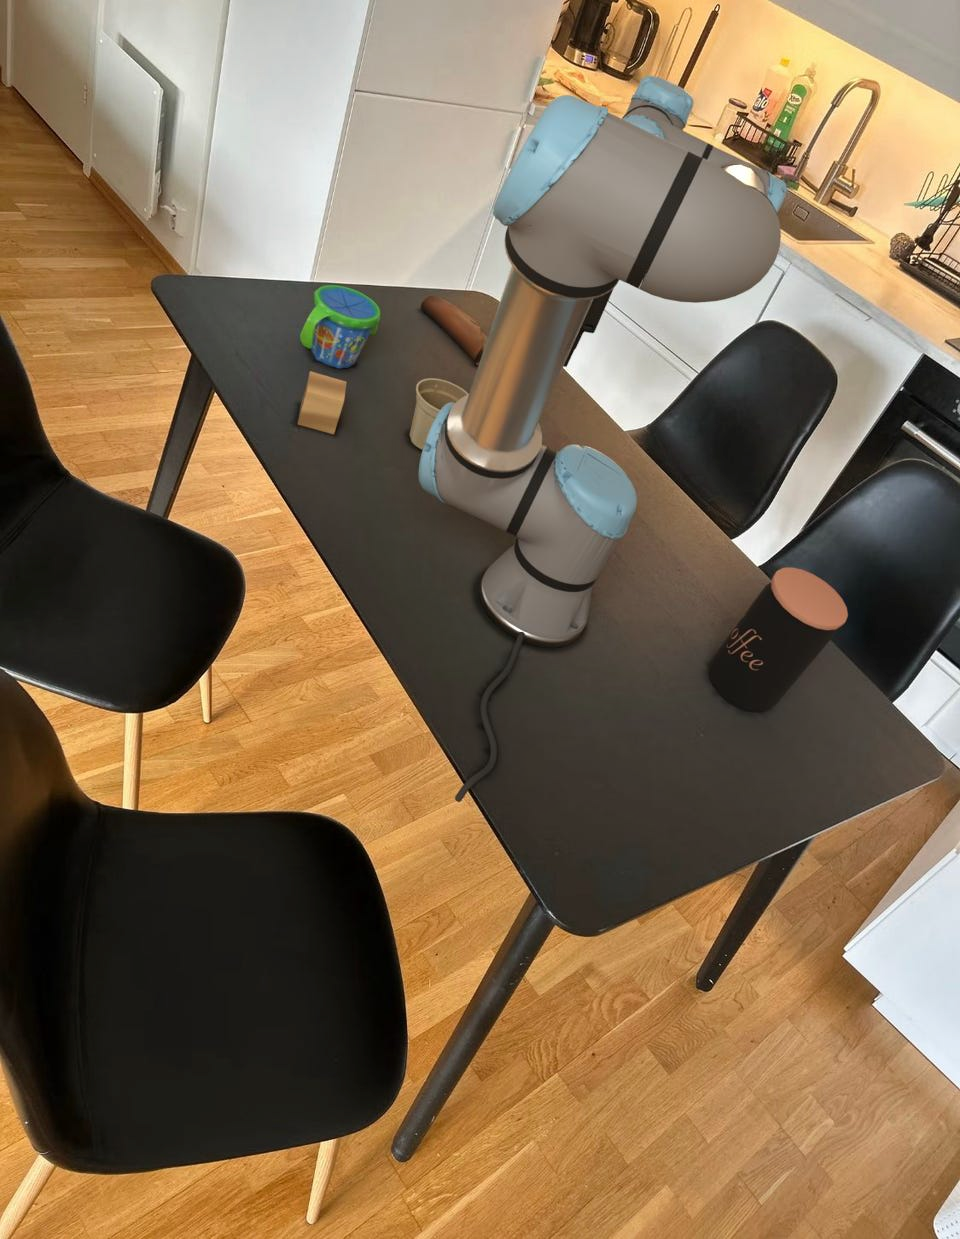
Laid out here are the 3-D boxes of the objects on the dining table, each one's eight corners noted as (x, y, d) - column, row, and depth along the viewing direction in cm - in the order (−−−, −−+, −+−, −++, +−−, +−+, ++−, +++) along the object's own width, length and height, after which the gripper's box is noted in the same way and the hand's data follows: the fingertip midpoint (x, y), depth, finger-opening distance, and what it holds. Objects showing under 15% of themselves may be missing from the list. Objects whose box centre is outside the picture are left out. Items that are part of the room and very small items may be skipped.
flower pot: (460, 437, 157) (478, 392, 152) (453, 468, 150) (472, 422, 145) (404, 416, 156) (421, 370, 150) (395, 447, 149) (411, 400, 143)
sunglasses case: (508, 361, 181) (506, 334, 175) (477, 380, 179) (474, 354, 173) (452, 307, 188) (448, 280, 183) (422, 325, 187) (417, 298, 181)
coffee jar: (700, 649, 140) (767, 557, 128) (766, 669, 142) (837, 580, 130) (710, 704, 132) (782, 611, 120) (780, 724, 134) (857, 635, 122)
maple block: (334, 434, 145) (344, 401, 142) (297, 424, 144) (306, 390, 140) (336, 414, 149) (346, 381, 146) (300, 404, 148) (310, 370, 144)
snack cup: (349, 335, 168) (365, 281, 162) (387, 370, 164) (405, 316, 158) (275, 344, 158) (289, 286, 151) (313, 381, 154) (329, 324, 147)
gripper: (667, 243, 128) (594, 391, 143) (615, 179, 140) (551, 323, 154) (619, 230, 125) (549, 384, 139) (570, 167, 136) (509, 315, 151)
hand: (550, 352), depth 147 cm, fingers open, 6 cm apart
